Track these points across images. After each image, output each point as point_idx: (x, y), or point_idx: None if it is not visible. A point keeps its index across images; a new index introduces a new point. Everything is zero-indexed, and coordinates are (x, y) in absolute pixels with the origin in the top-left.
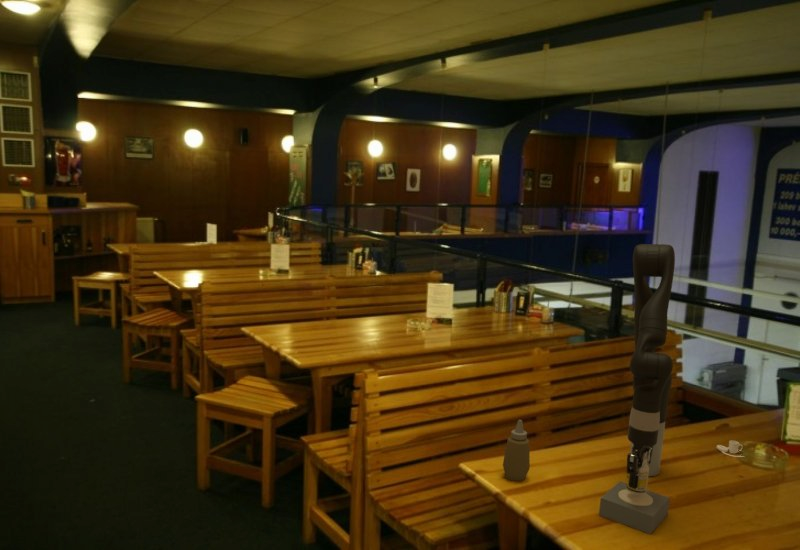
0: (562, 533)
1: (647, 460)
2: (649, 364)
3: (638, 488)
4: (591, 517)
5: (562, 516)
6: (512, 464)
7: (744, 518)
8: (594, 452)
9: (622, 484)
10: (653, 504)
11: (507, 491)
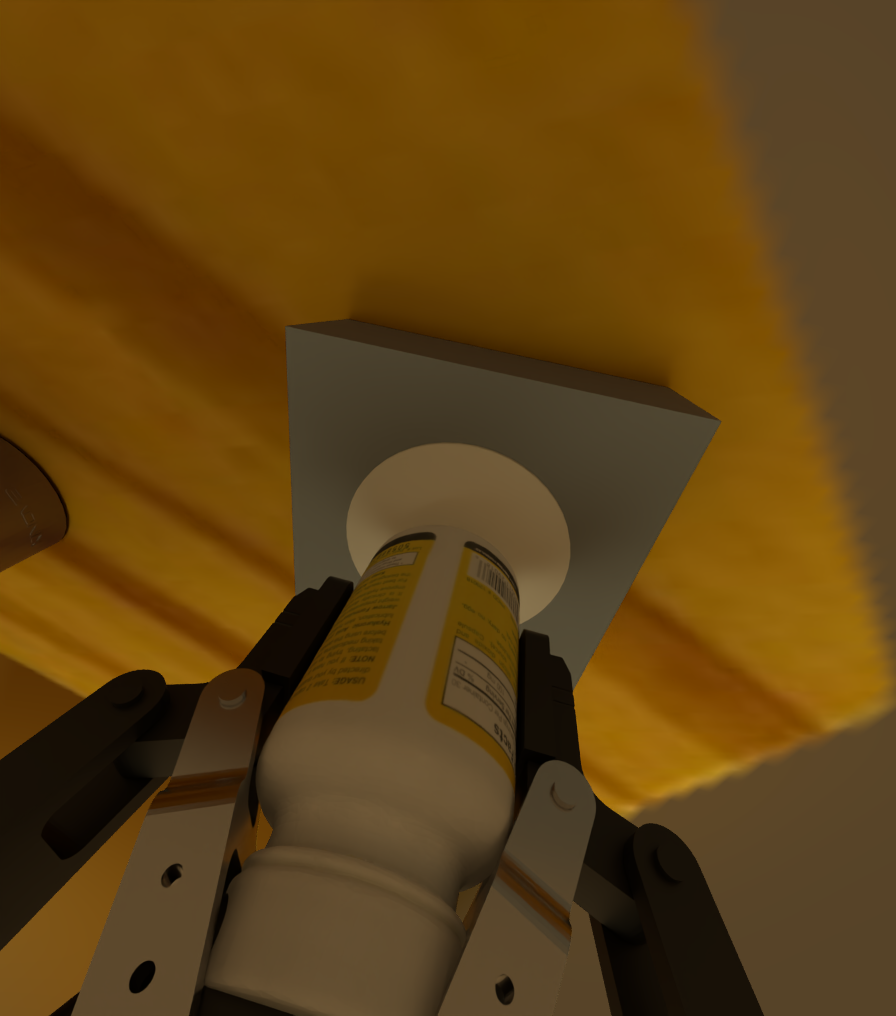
0: (802, 727)
1: (230, 842)
2: None
3: (515, 612)
4: (598, 645)
5: (641, 725)
6: (457, 900)
7: None
8: (64, 646)
9: None
10: (487, 434)
11: None
